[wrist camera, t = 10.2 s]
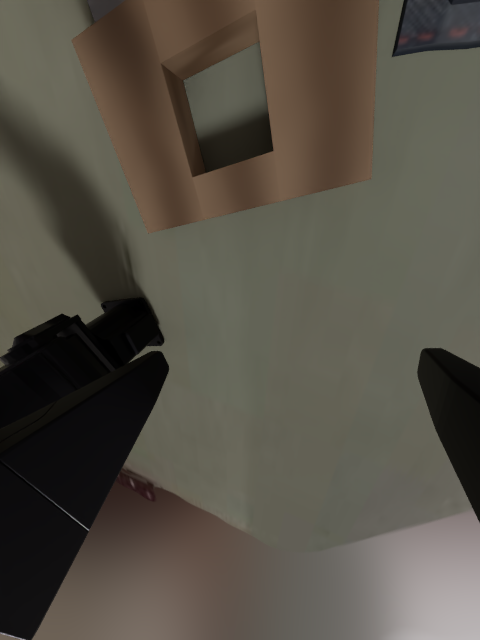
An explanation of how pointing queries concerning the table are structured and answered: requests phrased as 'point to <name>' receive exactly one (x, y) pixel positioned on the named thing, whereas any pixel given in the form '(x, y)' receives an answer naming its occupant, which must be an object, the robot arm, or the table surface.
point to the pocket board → (281, 89)
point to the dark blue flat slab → (438, 26)
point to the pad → (102, 7)
